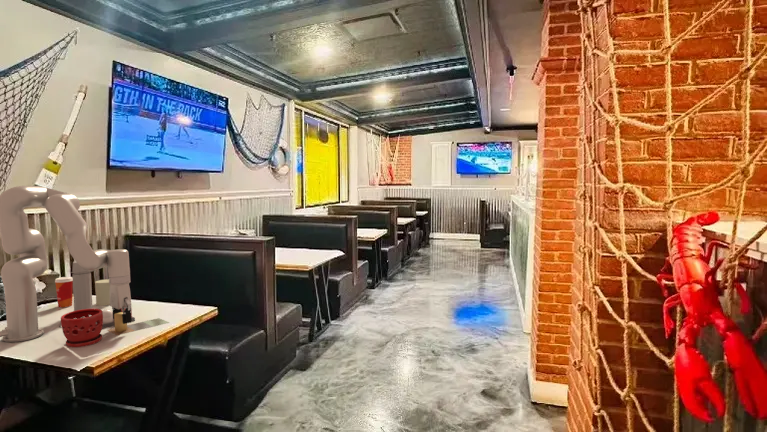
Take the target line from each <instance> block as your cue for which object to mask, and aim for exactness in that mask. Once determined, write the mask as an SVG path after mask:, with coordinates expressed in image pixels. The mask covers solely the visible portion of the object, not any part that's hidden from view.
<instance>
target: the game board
mask: <svg viewBox="0 0 767 432" xmlns="http://www.w3.org/2000/svg"><path fill="white" fill-rule="evenodd" d="M169 323H170V322H169V321H167V320H165V319H162V318H159V317H157V318H154V319H149V320H145V321H141V322H135V323H132V324H131V323H130V324H127V330H126V331H123V332H115V327H114V328H110V329H107V331H108V332H110V333H112V334H113V335H115V336H120V335H123V334H128V333H132V332H136V331H140V330H144V329H149V328H153V327H157V326H162V325H165V324H169Z"/></svg>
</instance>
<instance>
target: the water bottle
mask: <svg viewBox="0 0 767 432" xmlns="http://www.w3.org/2000/svg"><path fill="white" fill-rule="evenodd" d="M70 273H71V274H72V278H73V297H72V298H73V311H77V310H82V309H93V294H92V292H93V291H92V290H93V289H92V288H93V287H92V286H93V285H92V271H86V270H84V269H82V268H81V267H80V266H79V265H78V264H77V262H76V261H75V260H74V261H73V262H72V269H71V272H70Z"/></svg>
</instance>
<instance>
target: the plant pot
mask: <svg viewBox="0 0 767 432" xmlns="http://www.w3.org/2000/svg"><path fill="white" fill-rule="evenodd" d="M102 311H103V310H102V309H100V308H92V309H82V310H77V311H74V310H73V311H70V312H67V313H64V314H62V315H61V317H60V324H61V330H62V333H63V335H64V337H65V338H66V340H65V344H66V346H67V347H70V348H81V347H87V346H91V345H94V344H97V343H99V342H100V341H101V340H102V338H103V334H102V333H101V332H102V330H103V328H102V326H103V313H102ZM96 322H97V324H96Z"/></svg>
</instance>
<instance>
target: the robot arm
mask: <svg viewBox="0 0 767 432" xmlns="http://www.w3.org/2000/svg"><path fill="white" fill-rule="evenodd" d="M80 202H81V201H80V200H79V198H78V197H77V196H76V195H74V194H71V193H68V192H64V191H61V190H57V189H53V188H50V187H46V186H41V185H17V186H13V187H10V188H8V189H6V190H4V191H3V192H2V193H1V194H0V239H1V247H2V250H3V251H4V252H5V253H6V254H8V255H12V256H16V255H18V256H19V257H16V258H13V259H10V260H9V261H7V262H5V263H4V265H3V266H1V269H0V277H1V280H2V284H3V288H4V298H5V314H6V315H5V316H6V326H5V327H4V329H2V330H1V331H0V338H1V339H2V341H3V342H6V343H17V342H25V341H30V340H32V339H33V340H34V339H36V338H38V337H41V336H42V335H43V334H44V330H43V329H40V328H39V318H38V316H39V315H38V298H37V297H38V296H37V289H36V284H35V283H34V280H33V279H34V278H37V277H40V276H41V275H43V274H44V273H45V272H46V271H47V268H48V259H47V250H46V241H45V238H44V236H43V234H42V233H41V232H40V230H38V229H34V228H30V227H29V222H28V221H29V220H28V217H27V216H28V215H26V213H25V210H24V209H27V208H42V209H46V211H47V213H48V214H49V216H50V217H51V218H52V219H53V221H54V222H55V224H56V226H57V227H58V228H59V230H61V232H62V234H63V235H64V237H65V243H66V247H67V250H68V252H69V254H70V256H71V257H72V259H73V260H74V262H75V261H76V262H77V264H78V265H79V266H80V267H81V268H82V269H84V270H86V271H91V272H95V271H97V270H99V269H103V268H105V267H107V270H108V271H107V273H108V279H109V285H110V305H109V306H110V307H111V309H112V310H111V311H112V312H113V319H114V314H116V313H120V312H123V314H122V321H123V324H126V323H127V324H129V323H130V324H131V323H132V322H133V321H132V318H131V308H132V297H131V288H130V283H131V268H130V256H129V255H130V254H129V251H128V250H127V249H125V248H124V249H121V248H119V249H118V248H117V249H103V248H100V249H99V248H98V249H96V250H94V249H93V248H92V247H91V245H90V243H89V242H88V240H87V236H86V235H87V229H88V223H87V222H86V221H85V219H84V218H83V217H82V215H81V213H80V212H79V209H80V207H81V203H80ZM121 309H122V311H121ZM124 309H125V310H124Z"/></svg>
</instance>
